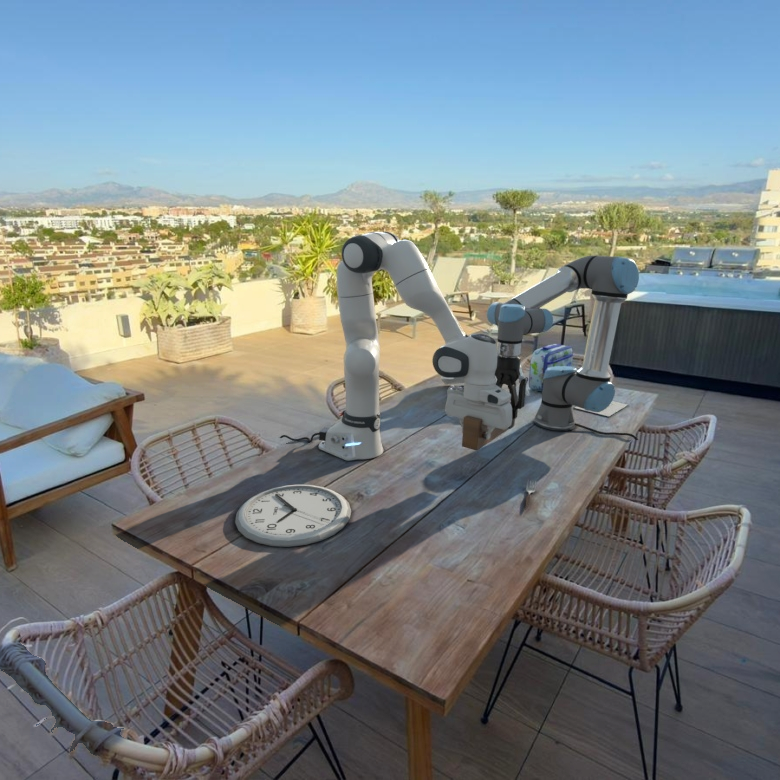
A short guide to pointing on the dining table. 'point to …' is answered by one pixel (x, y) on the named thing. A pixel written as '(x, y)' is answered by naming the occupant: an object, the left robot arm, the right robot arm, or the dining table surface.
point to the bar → (477, 433)
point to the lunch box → (548, 362)
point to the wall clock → (293, 515)
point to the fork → (529, 490)
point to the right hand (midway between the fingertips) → (502, 425)
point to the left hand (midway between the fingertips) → (476, 435)
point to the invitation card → (608, 409)
